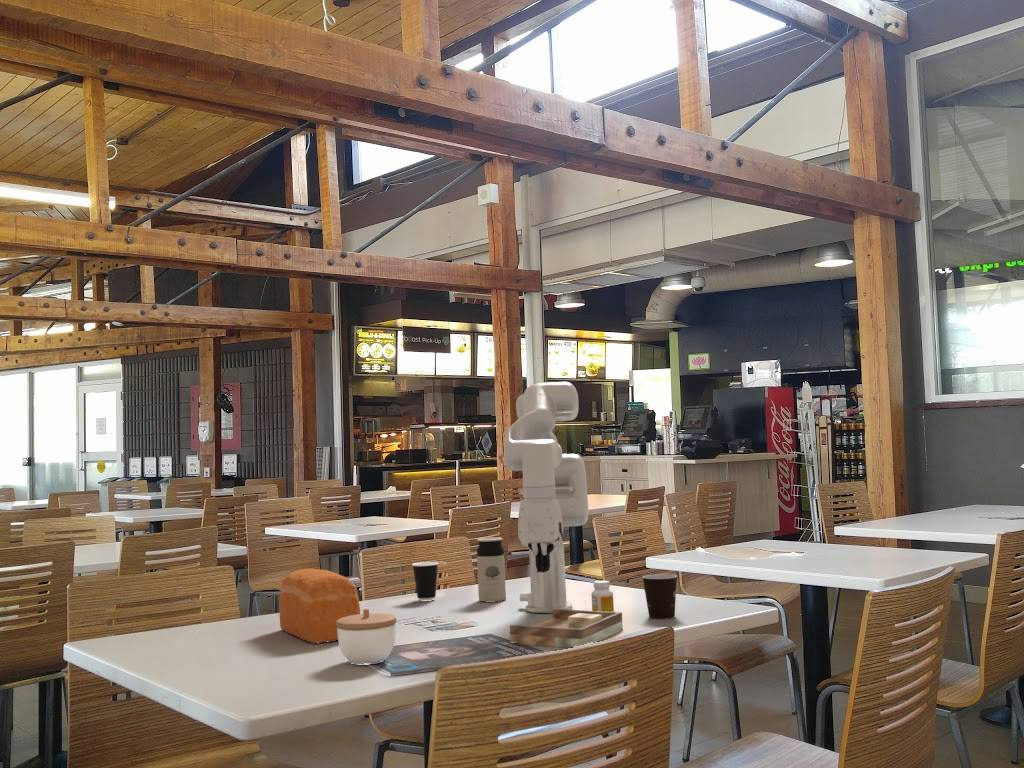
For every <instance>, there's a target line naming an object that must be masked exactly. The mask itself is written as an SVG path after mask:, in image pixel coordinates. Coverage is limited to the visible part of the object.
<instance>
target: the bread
mask: <svg viewBox="0 0 1024 768" xmlns="http://www.w3.org/2000/svg"><path fill="white" fill-rule="evenodd" d="M280 584H281V591H280V593H279V595H278V605H279V606H278V609H279V613H278V614H279V627H280V629H281V631H283V630H285V631H284V632H286V633H288V634H289V635H292V634H293V635H292V636H294V635H295V636H294V637H296V636H297V637H296V638H298V637H299V639H301V640H303V641H305V640H306V641H305V642H307V641H308V643H309V642H311V643H310V644H315V643H316V644H318V643H317V642H327V641H335V642H337V641H336V640H338V635H337V626H336V621H337V620H338V619H340V618H343V617H346V616H351V615H358V614H361V606H360V599H359V596H358V594H357V586H356V585H355V584H354V583H353V582H352V581H351V580H350V579H348V578H347V577H345V576H344V575H341V574H339V573H337V572H334V571H330V570H328V569H327V570H326V569H317V568H304V569H298V570H295V571H294V572H291V573H290V574H288V575H286V576H285V577H284V578H283V579H282V580H281V583H280ZM327 643H328V642H327Z"/></svg>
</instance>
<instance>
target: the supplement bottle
mask: <svg viewBox="0 0 1024 768" xmlns="http://www.w3.org/2000/svg"><path fill="white" fill-rule="evenodd" d="M610 584H611V583H610V580H596V581H593V588H594V590H592V591H591V611H603V612H615V610H614V609H615V608H614V607H615V606H614V593H613V591H612V590H611V589H610V587H611V586H610Z"/></svg>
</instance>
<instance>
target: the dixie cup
mask: <svg viewBox="0 0 1024 768" xmlns="http://www.w3.org/2000/svg"><path fill="white" fill-rule="evenodd" d="M411 565H412V571H413V574H414V582H415V590H416V597H417V599H419V600H432V599H435V598H436V595H437V592H436V591H437V579H438V565H439V562H438V561H420V562H413V563H412V564H411ZM419 600H418V601H419ZM435 600H436V599H435Z"/></svg>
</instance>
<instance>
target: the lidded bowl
mask: <svg viewBox="0 0 1024 768" xmlns="http://www.w3.org/2000/svg"><path fill="white" fill-rule="evenodd" d="M362 611H363V613H360V614H358V615H351V616H346V617H343V618H340V619H338V620H337V621H336V626H337V635H338V641H337V642H338V647H339V649H340V652H341V654H342V655H343V656H344V658H346V659H347V661H349V662H350V664H351V663H353V664H364V663H370V662H375V661H377V660H381V659H384V658H385V659H387V657H388V656H390V654H391V652H392V650H393V648H394V646H395V641H396V637H397V636H396V635H397V634H396V633H397V624H396V623H397V616H396V615H394V614H391V613H379V612H378V613H377V612H375V613H374V612H371V613H370V608H364V609H362Z"/></svg>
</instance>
